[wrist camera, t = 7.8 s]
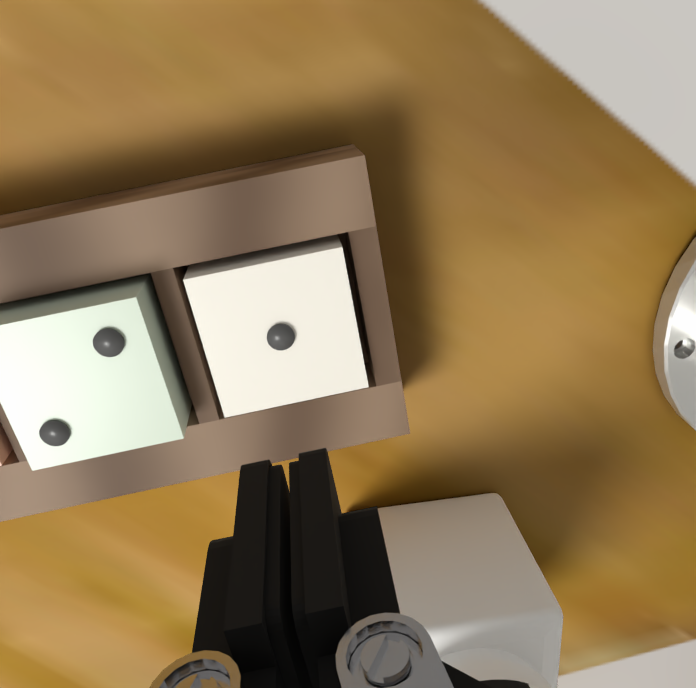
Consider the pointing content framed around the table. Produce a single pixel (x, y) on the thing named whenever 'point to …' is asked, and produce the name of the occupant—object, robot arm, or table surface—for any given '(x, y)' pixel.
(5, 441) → the button three terracotta
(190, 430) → the button board
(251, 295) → the button one cream
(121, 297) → the button two sage
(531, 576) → the medicine bottle
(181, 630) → the table surface
